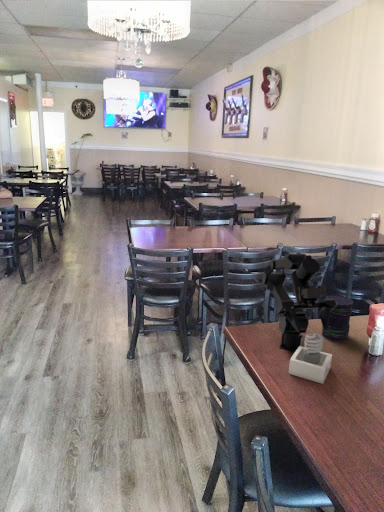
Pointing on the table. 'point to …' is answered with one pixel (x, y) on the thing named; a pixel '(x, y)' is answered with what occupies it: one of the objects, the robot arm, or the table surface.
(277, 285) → the robot arm
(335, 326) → the storage jar
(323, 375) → the white open box
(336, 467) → the table surface
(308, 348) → the light bulb
